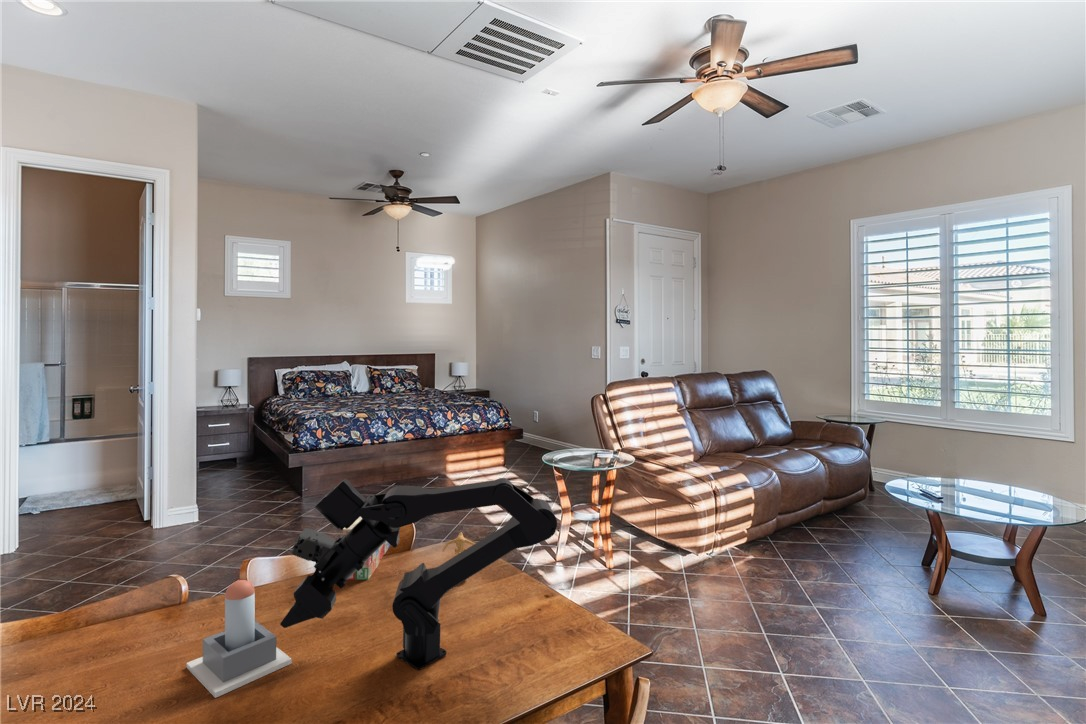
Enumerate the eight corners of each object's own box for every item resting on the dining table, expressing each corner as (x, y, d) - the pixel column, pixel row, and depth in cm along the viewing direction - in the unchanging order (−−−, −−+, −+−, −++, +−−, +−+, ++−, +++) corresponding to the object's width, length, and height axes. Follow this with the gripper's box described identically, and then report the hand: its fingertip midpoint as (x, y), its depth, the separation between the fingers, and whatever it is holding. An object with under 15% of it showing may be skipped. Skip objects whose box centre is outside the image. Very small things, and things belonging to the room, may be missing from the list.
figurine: (478, 576, 130) (479, 526, 129) (477, 587, 124) (478, 535, 123) (443, 576, 129) (444, 526, 129) (440, 587, 123) (441, 535, 123)
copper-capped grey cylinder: (260, 655, 94) (260, 576, 93) (241, 670, 90) (242, 588, 89) (237, 651, 95) (238, 574, 94) (218, 666, 90) (218, 585, 90)
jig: (291, 663, 93) (291, 636, 93) (215, 698, 84) (215, 667, 84) (259, 638, 101) (260, 612, 100) (186, 667, 91) (186, 639, 91)
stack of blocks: (367, 546, 147) (367, 501, 147) (390, 546, 147) (391, 501, 147) (341, 580, 126) (342, 528, 125) (368, 580, 126) (369, 528, 126)
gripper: (336, 498, 102) (274, 558, 101) (307, 535, 84) (232, 608, 83) (379, 537, 104) (319, 596, 103) (360, 582, 85) (287, 654, 84)
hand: (291, 611), depth 93 cm, fingers open, 9 cm apart
